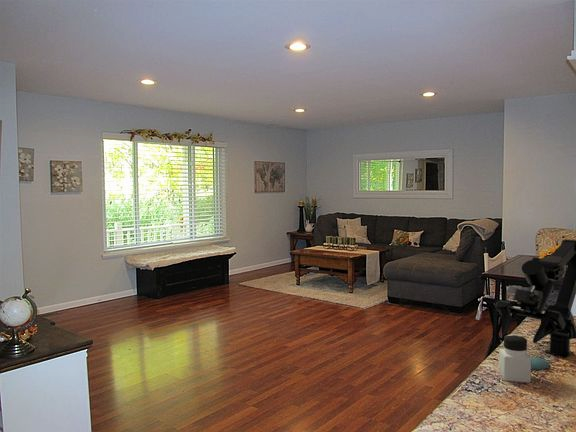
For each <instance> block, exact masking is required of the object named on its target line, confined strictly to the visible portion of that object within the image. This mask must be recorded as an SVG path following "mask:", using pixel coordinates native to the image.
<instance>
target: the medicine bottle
mask: <svg viewBox="0 0 576 432" xmlns="http://www.w3.org/2000/svg"><path fill="white" fill-rule="evenodd" d="M498 351H499V352H498V372H499V374H500V376H501V377H502V379H503V380H504V381H505V382H516V383H517V382H518V383H529V384H530V383H531V382H532V369H531V362H532V359H531V357H530V356H531V355H529V353H528V340H527V338H526V337H524V336H522V335H520V334H508V335H504V337H503V348H499V350H498Z"/></svg>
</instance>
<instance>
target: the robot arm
mask: <svg viewBox="0 0 576 432" xmlns="http://www.w3.org/2000/svg"><path fill="white" fill-rule="evenodd" d="M565 266H566V269H565ZM521 272H522V273H523V275H524V277H525V280H526V282H527V284H529V285H530V287H529V289H528V290H525V289H519V288H515V292H514V295H513V300H514V301H517V306H518V307H515V306H514V305H513V303H512V302H511V301H508V300H502V299H501V300H497V301H496V303H495V306H494V307H495V309H496V310H497V313H499V314H498V315H500V317H501V319H502V320H501V321H502V322H501V323H502V324H501V334H502V336H506V334H507V332H508V331H509V329H510V327H511V326H512V324H513V323H514V321H515V320H514V319H515V317H516V315H518V316H521V317H526V318H530V319H535V320H538V321H540V323H539V326H538V329H537V331H536V332H535V334H534V336H533V339H532V342H533V344H537V343H538V342H540V341H541V340H542V339H543V338H545V337H547V336H549V348H548V349H546V350H544V353H545V354H549V355H553V356H557V357H560V358H564V359H565V358H569V357H570V356H573V355H574V354H575V352H574V351H571V350H570V349H571V340H574V339H576V324H575V318H574V314H573V313H572V308H573V305H574V301H575V297H576V239H562V240H561V244H560V245H559V246H558V247H557V248H556V249H555V250H554V251H553V252H552V253H551V255H550V256H546V257H542V258H541V257H534V256H533V257H532V259H531V260H527V261H526V262H524V263H523V264H522V265H521ZM562 278H563V279H562ZM561 279H562V282H561V285H560V288H559V291H558V295H557V298H556V300H555V303H554V304H553V305H552V304H549V305H548V303H547V302H548V300H549V298H550V297H551V294H554V293H555V288H554V287H555V285H554V283H553V281H555V282H557V281H560V280H561ZM545 308H546V309H545ZM544 309H545V310H544Z"/></svg>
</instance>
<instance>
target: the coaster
mask: <svg viewBox="0 0 576 432" xmlns="http://www.w3.org/2000/svg"><path fill="white" fill-rule="evenodd" d="M529 356H530V357H531V359H532V362H531V370H534V371H535V370H537V371H538V370H546V369H548V368H549V367H550V365H549V361H547V360H546V359H544V358H542V357H538V356H534V355H529Z"/></svg>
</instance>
